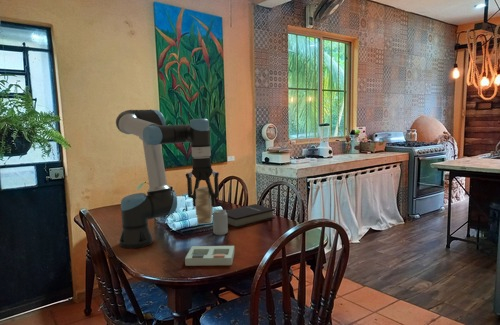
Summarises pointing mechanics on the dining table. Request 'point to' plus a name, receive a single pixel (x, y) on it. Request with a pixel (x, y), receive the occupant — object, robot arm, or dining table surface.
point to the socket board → (210, 255)
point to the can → (220, 222)
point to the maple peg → (203, 205)
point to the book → (248, 215)
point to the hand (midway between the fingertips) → (204, 213)
